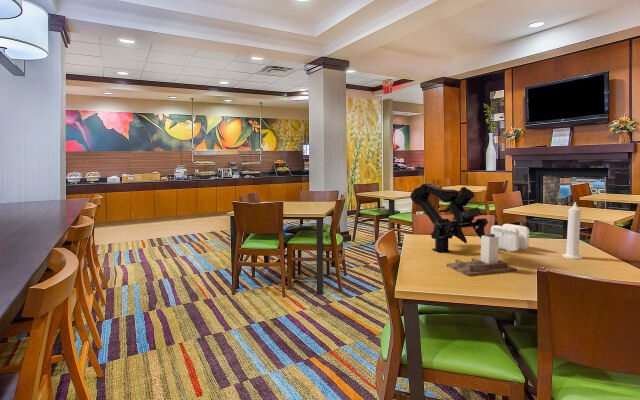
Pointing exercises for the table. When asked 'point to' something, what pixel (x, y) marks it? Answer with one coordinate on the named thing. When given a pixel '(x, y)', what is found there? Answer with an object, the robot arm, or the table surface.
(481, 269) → the comb rack
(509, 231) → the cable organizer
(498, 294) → the table surface
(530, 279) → the table surface
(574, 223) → the candle
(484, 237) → the white tall block
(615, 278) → the table surface
